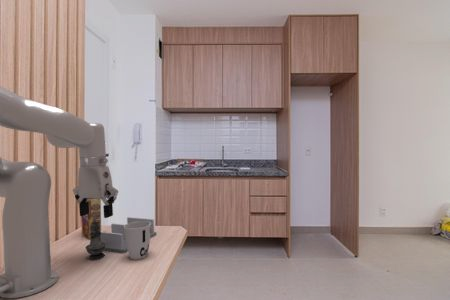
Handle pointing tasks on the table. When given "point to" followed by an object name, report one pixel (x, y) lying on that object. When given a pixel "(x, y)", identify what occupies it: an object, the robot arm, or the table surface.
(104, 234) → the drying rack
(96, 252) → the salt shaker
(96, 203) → the candy box
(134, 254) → the cup
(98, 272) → the table surface
